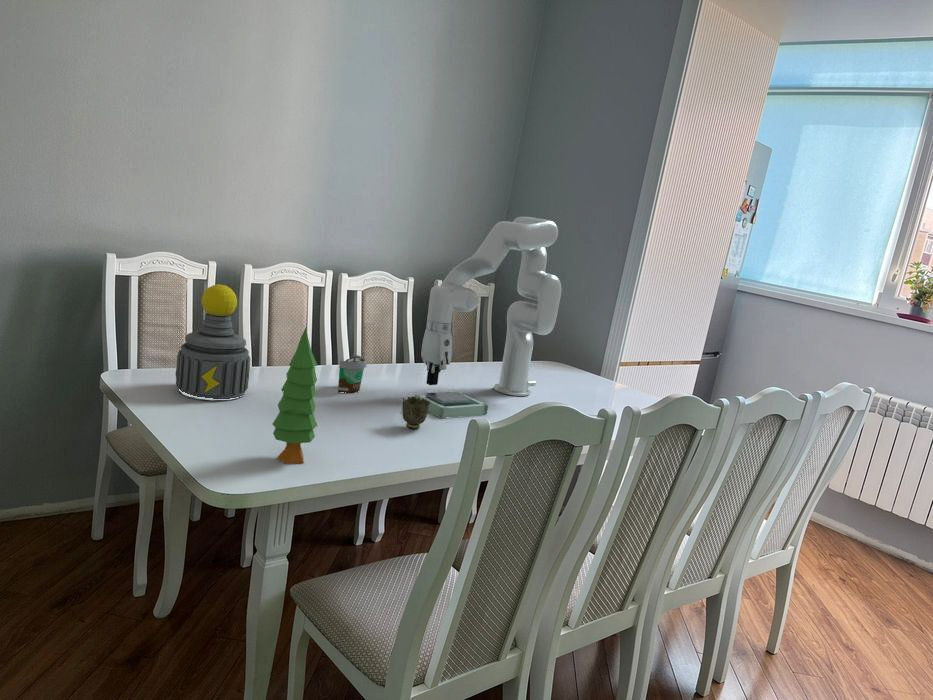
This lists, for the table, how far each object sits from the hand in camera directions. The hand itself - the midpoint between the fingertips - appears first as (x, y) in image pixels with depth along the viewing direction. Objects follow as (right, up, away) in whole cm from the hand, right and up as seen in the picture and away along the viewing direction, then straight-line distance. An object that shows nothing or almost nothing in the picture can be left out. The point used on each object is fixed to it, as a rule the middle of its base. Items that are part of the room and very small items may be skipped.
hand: (431, 384), depth 229 cm
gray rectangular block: (+5, -7, -9) cm, 13 cm away
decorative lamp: (-59, -1, -27) cm, 65 cm away
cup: (-4, -10, -32) cm, 34 cm away
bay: (+6, -7, -8) cm, 12 cm away
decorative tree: (-28, -13, -67) cm, 74 cm away
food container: (-24, -2, -4) cm, 24 cm away
